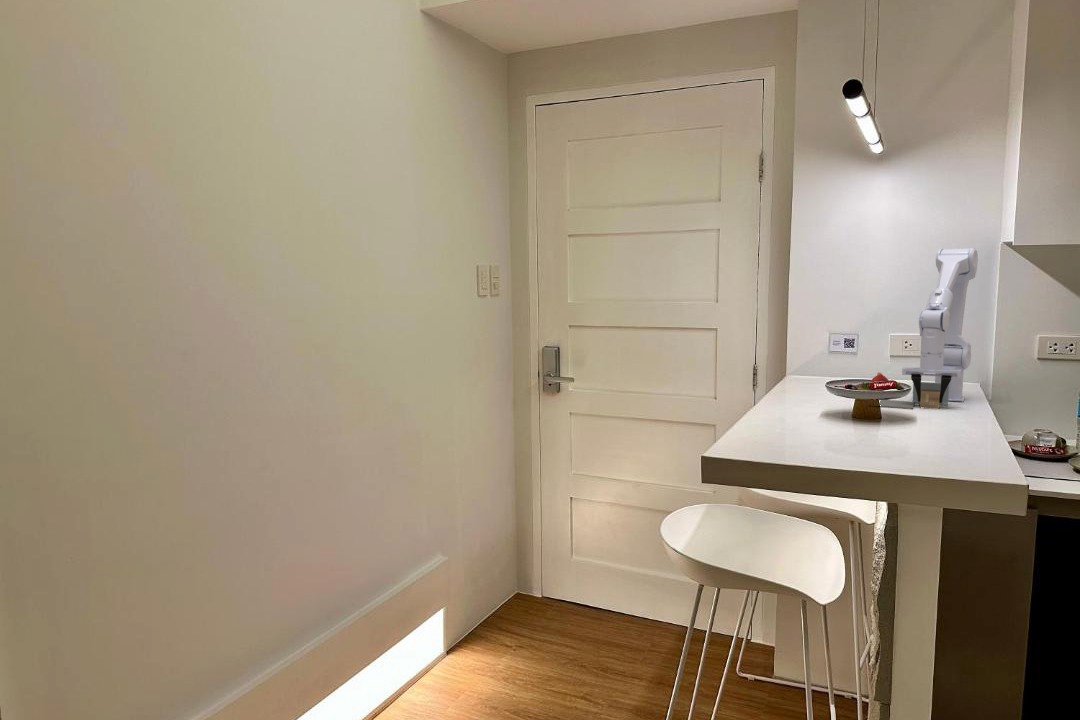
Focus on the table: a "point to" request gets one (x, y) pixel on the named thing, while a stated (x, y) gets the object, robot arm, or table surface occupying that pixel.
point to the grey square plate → (897, 404)
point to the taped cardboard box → (930, 398)
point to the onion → (879, 378)
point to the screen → (934, 387)
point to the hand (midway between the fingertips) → (929, 401)
